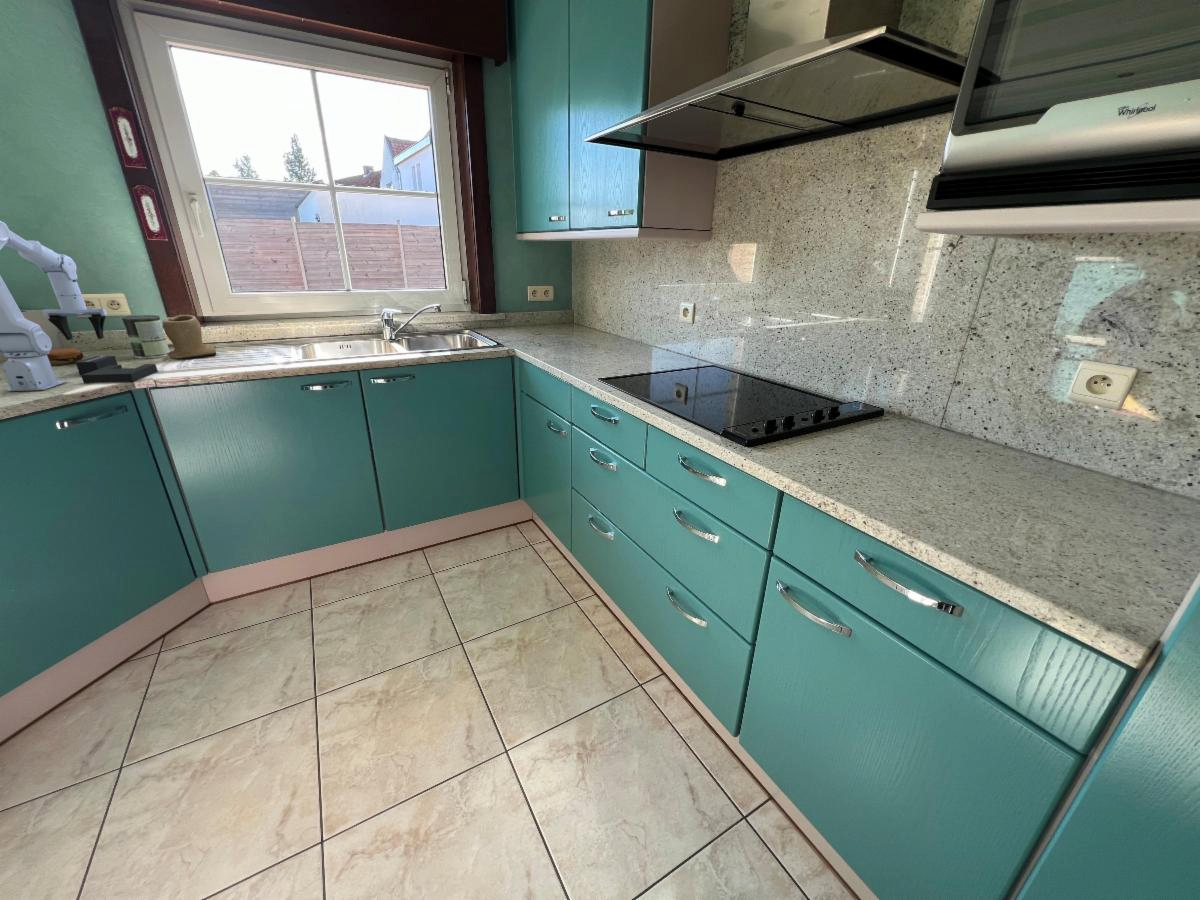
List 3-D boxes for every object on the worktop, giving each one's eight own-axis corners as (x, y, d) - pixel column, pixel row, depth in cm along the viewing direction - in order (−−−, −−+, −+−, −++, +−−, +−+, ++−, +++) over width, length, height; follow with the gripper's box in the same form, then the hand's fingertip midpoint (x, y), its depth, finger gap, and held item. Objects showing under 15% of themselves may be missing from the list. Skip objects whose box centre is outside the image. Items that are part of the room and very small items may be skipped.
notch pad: (133, 381, 147) (130, 373, 146) (83, 383, 144) (80, 375, 143) (158, 371, 160) (155, 363, 159) (113, 372, 157) (110, 365, 156)
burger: (37, 366, 162) (31, 352, 160) (57, 360, 170) (51, 347, 169) (74, 365, 165) (69, 351, 163) (92, 359, 173) (87, 346, 171)
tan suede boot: (173, 362, 172) (160, 318, 167) (165, 357, 180) (153, 315, 174) (225, 356, 183) (214, 315, 178) (215, 352, 190) (205, 312, 185)
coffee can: (128, 359, 175) (114, 318, 170) (143, 353, 184) (131, 315, 179) (163, 358, 178) (150, 318, 173) (176, 352, 187) (165, 315, 182)
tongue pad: (99, 374, 154) (94, 361, 153) (80, 375, 153) (75, 362, 151) (118, 367, 163) (114, 355, 162) (100, 368, 162) (96, 355, 160)
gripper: (104, 293, 159) (119, 335, 164) (44, 293, 153) (62, 337, 159) (94, 295, 153) (110, 339, 158) (31, 296, 147) (50, 341, 153)
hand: (85, 338), depth 158 cm, fingers open, 7 cm apart
